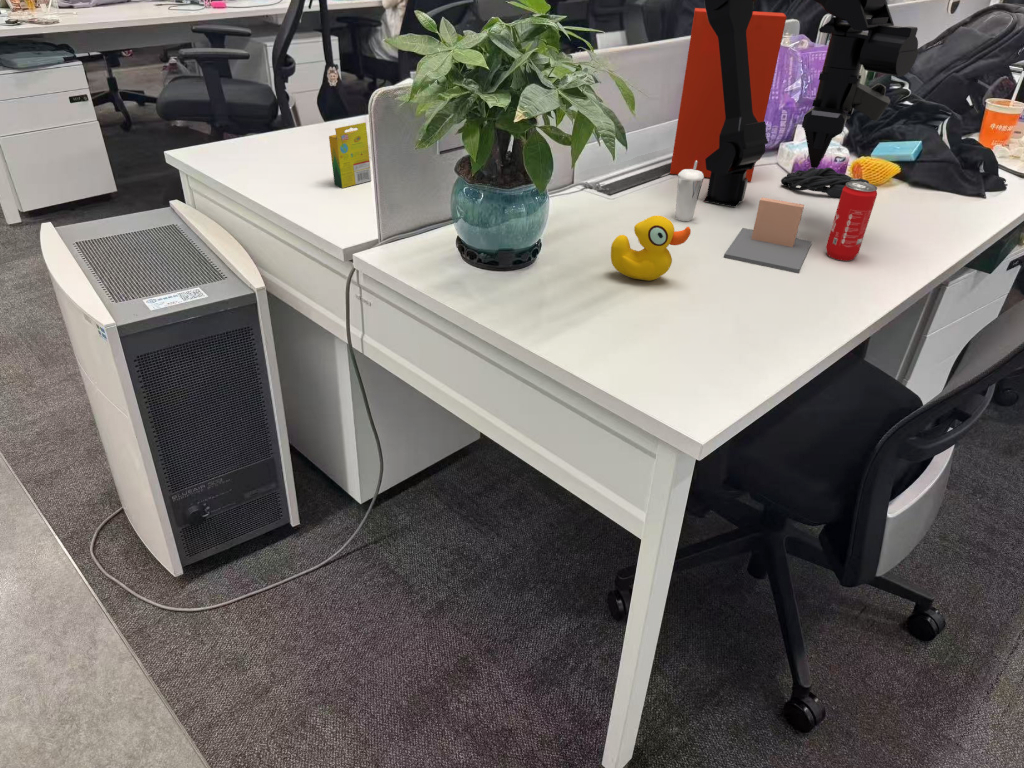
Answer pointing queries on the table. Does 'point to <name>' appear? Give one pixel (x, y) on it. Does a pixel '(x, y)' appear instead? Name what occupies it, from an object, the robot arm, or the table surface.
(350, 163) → the crayon box
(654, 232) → the duckling
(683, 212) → the milkshake
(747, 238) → the mat
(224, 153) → the table surface
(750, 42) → the file binder
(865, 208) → the beverage can
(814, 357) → the table surface
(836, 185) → the cable
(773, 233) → the tile
